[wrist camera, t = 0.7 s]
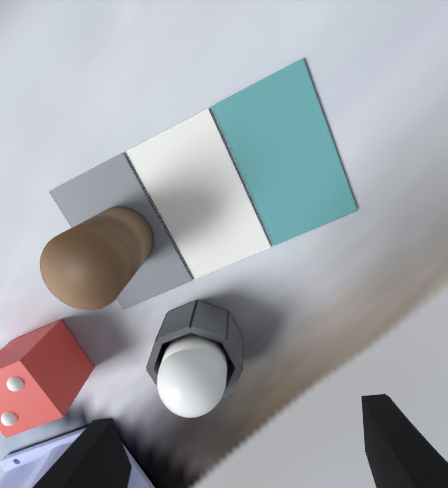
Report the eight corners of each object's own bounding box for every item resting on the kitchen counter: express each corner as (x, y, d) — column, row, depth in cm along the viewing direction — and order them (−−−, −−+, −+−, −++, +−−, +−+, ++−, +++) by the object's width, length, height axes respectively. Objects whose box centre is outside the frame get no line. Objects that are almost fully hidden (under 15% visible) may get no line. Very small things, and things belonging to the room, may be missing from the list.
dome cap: (183, 389, 19) (171, 443, 16) (154, 342, 18) (134, 389, 15) (237, 370, 19) (237, 422, 15) (210, 320, 18) (203, 364, 14)
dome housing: (183, 380, 21) (175, 415, 19) (146, 320, 20) (132, 348, 17) (252, 355, 21) (254, 388, 18) (218, 290, 19) (215, 315, 17)
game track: (123, 308, 20) (123, 309, 20) (50, 191, 18) (49, 191, 18) (356, 210, 17) (357, 210, 17) (302, 59, 15) (303, 58, 15)
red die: (46, 386, 22) (1, 443, 18) (11, 340, 21) (-45, 389, 17) (94, 367, 21) (59, 422, 17) (60, 319, 20) (15, 365, 16)
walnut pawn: (112, 275, 19) (70, 321, 14) (79, 222, 18) (22, 252, 13) (165, 252, 18) (139, 291, 14) (134, 195, 18) (94, 217, 13)
